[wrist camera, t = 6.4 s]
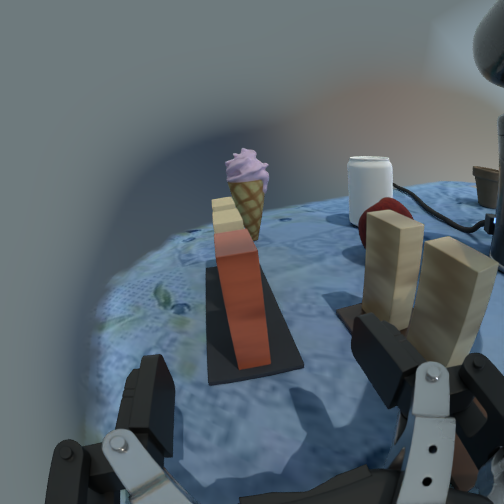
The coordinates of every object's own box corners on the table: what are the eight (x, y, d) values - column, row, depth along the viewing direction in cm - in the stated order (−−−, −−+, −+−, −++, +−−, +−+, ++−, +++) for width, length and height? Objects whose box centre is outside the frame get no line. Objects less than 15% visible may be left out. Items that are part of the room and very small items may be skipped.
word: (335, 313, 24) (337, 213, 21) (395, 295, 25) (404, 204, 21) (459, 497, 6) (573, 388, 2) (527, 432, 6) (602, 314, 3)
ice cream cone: (275, 231, 48) (266, 145, 42) (277, 244, 42) (267, 145, 37) (237, 235, 48) (225, 150, 43) (234, 248, 43) (220, 151, 37)
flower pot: (502, 204, 51) (504, 170, 47) (509, 214, 43) (512, 174, 39) (470, 198, 58) (471, 164, 54) (472, 206, 51) (474, 167, 47)
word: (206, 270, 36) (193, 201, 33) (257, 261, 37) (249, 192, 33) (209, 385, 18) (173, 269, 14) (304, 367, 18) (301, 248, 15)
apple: (387, 243, 37) (388, 190, 34) (424, 262, 30) (430, 201, 27) (348, 255, 35) (348, 196, 32) (386, 278, 28) (390, 209, 25)
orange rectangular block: (232, 333, 23) (213, 233, 19) (260, 328, 23) (247, 228, 20) (238, 370, 19) (215, 257, 15) (271, 364, 19) (257, 250, 15)
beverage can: (393, 232, 41) (393, 159, 36) (347, 229, 45) (344, 158, 40) (391, 218, 48) (390, 156, 43) (351, 216, 51) (349, 156, 47)
